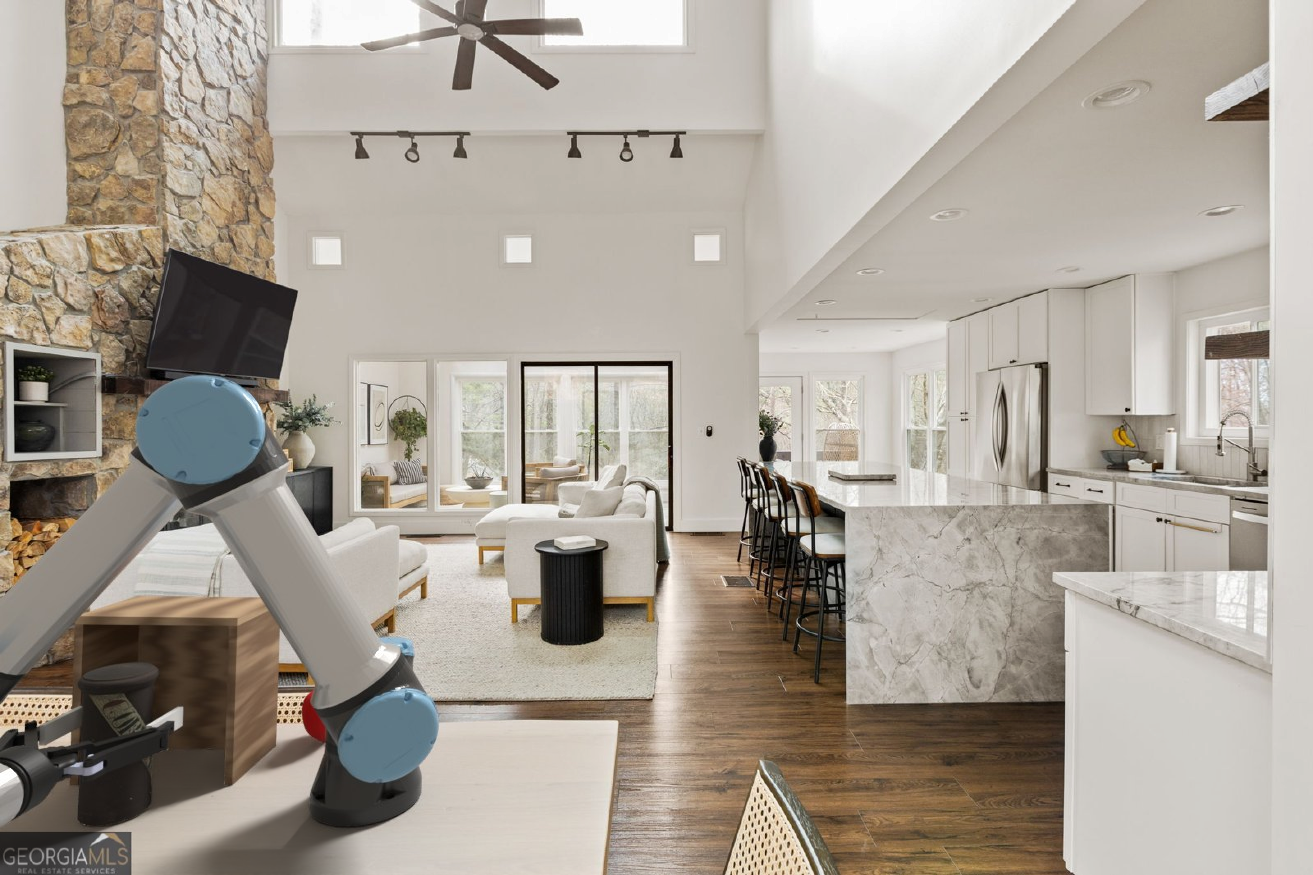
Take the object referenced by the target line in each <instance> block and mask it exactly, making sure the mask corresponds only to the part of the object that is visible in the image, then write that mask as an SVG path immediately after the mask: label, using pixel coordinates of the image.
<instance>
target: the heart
mask: <svg viewBox="0 0 1313 875" xmlns="http://www.w3.org/2000/svg"><path fill="white" fill-rule="evenodd" d="M313 691H314V689H313V690H311V691H310V692H309V693H308V694H307V695H306V696H305V697H304V699H303V702H302V704H301V705H302V706H301V718H302V724H303V727H304V730H305V732H306V733H307V734H308V736H310V737H311V738H313V739H314V740H317V741H320V742H325V733H326V727H325V726H324V724H323V722H322V721H321V719H320V718H319V716H318V715H317V713H316V711H315V710H314V708H313V707H312V705H311V702H310V700H311V697H312V694H313Z"/></svg>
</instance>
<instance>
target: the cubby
mask: <svg viewBox="0 0 1313 875" xmlns="http://www.w3.org/2000/svg"><path fill="white" fill-rule="evenodd" d="M280 632H281V629H280V628H279V626H278V624H277V623H276V621H275V620H274V618H273V617H272V615H271V613H270V612H269V610H268V609H267V607H266V606H265V604H264V602H263V601H262V599H261V598H260V596H259V597H256V596H253V597H251V596H249V597H247V596H245V597H244V596H182V595H181V596H176V595H175V596H174V595H173V596H172V595H170V596H169V595H168V596H167V595H165V596H164V595H136V596H133V597H130V598H127V599H123V600H121V601H118V602H114V603H111V604H108V605H105V606H102V607H100V608H99V607H98V608H97V609H93V610H89V611H85V612H84V613H83V614H82V615H81V616H80V617H79V618H78V619H77V620H76V621H75V622H74V633H73V634H74V638H73V665H72V691H71V692H72V697H71V710H72V709H74V708H76V707H78V706H82V701H83V693H82V692H81V690H80V689H79V688H78V685H77V683H78V680H79V679H80V678H81V677H82V676H83V675H84V674H86V673H87V672H89V671H92V670H95V669H98V668H101V667H105V666H110V665H115V664H121V663H130V662H146V663H150V664H152V665H154V666H156V667H157V668H158V670H159V675H158V677H157V678H156V680H155V682H153V721H155V720H157V719H158V718H160V717H162V716H163V715H165V714H167V713H168V712H170V711H172V710H173V709H175V708H177V707H183V726H181V727H180V728H178V729H177V730H175V731H174V732H173V733H172V734H170V735H169V742H168V749H167V750H224V753H225V754H224V772H223V776H224V778H223V780H224V781H223V785H224V786H233V785H235V783H236V782H238V781H239V780H240V779H241V778H242V777H244V775H246V774H247V773H248V772H249V771H250V770H251V769H252V768H253V767H254V766H256V765H257V764H258V763H259V762H260V761H261V760H262V759H264V758H265V756H266V755H267V754H269V752H271V751H273V749H275V747H277V731H278V728H277V727H278V701H279V700H278V699H279V698H278V696H279V694H278V693H279V671H280V670H279V667H280V665H279V664H280V636H281V635H280V634H281V633H280ZM153 721H152V722H153ZM81 729H82V726H81V727H79V728H77V729H75V730H74V731H72V732H70V745H73V744H77V743H81ZM80 751H81V750H79V751H78V763H80ZM68 779H69V783H68V784H69V786H70V787H71V786H72V787H74V786H75V787H76V786H77V787H79V775H74V776H72V777H70V778H68Z"/></svg>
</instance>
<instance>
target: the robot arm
mask: <svg viewBox="0 0 1313 875" xmlns="http://www.w3.org/2000/svg"><path fill="white" fill-rule="evenodd" d="M264 417H265V416H264V413H263V410H262V408H261V406H260V405H259V403H258V401H257V399H255V397H254V396H253V395H252V394H251V393H250V391H249V390H247V389H246V388H244V387H242V385H239V383H238V384H237V383H236V382H234V381H232V380H229V379H227V378H224V377H221V376H217V375H207V374H199V375H188V376H185V377H181V378H177V379H173V380H172V381H169V382H167V383H165V384H163V385H161V386H160V387H158V388H157V389H156V390H154V391H153V392H152V393H151V394H150V395H149V396H148V397H147V399H146V400H145V401H144V402H143V404H142V406H141V408H140V409H139V411H138V414H137V417H136V421H135V429H134V431H135V438H136V446H135V447H134V448H133V449H132V450H131V451H130V452H129V453H128V460H129V466H128V467H127V468H126V470H124V471H123V473H122V474H121V475H119V477H118V478H116V480H115V481H113V483H112V484H111V485H110V486H108V488H107V489H105V491H104V492H103V493H102V494H101V495H100V496H99V497H98V498H97V499H96V500H95V501H94V502H93V503H92V504H91V505H90V507H89V508H88V509H86V511H85V512H83V514H82V515H81V516H80V517H79V518H77V520H76V521H74V523H73V524H72V525H70V527H69V528H68V529H67V530H66V531H65V532H64V533H63V534H62V535H61V536H60V537H59V538H58V539H57V540H56V542H54V543H53V544H52V546H50V548H48V549H47V551H46V552H44V554H42V556H41V557H40V558H39V559H38V560H36V562H35V563H34V564H33V565H32V566H31V567H30V568H29V569H28V570H27V571H26V572H25V573H24V574H23V575H22V576H21V577H20V578H19V579H18V580H17V581H16V583H15V584H13V586H11V587H10V589H9V590H8V591H7V592H5V593H4V594H3V596H2V597H0V705H2V703H3V702H4V701H5V700H6V699H7V698H8V696H9V694H10V693H11V692H12V691H13V690H14V689H15V688H16V686H18V684H19V683H20V682H21V681H22V680H23V679H24V678H25V676H26V675H27V674H28V673H29V672H30V671H31V670H32V669H33V667H34V666H35V665H36V664H37V663H38V662H39V661H40V660H41V659H42V658H43V657H44V656H45V655H46V654H47V652H48V651H49V650H51V649H52V647H54V645H55V644H56V643H57V642H58V641H59V639H61V638H62V636H63V635H65V633H66V632H67V631H68V630H69V629H70V628H71V627H72V625H74V624H75V621H76V620H77V619H78V618H79V617H80V616H81V615H82V614H83V613H86V612H87V611H88V608H90V606H92V604H93V603H94V602H95V601H96V600H97V599H98V598H99V597H100V595H102V593H104V592H105V590H106V589H107V588H108V587H109V586H110V585H111V584H112V583H113V582H114V581H115V580H116V579H117V577H118V576H119V575H121V573H122V572H123V571H124V570H125V569H126V568H127V566H128V565H129V564H131V563H132V561H133V560H134V559H135V558H136V557H137V556H138V555H139V554H140V553H141V551H143V549H144V548H146V546H147V545H148V544H149V543H151V541H152V540H153V539H154V538H155V537H156V536H157V535H158V534H159V532H160V531H161V530H162V529H163V528H164V527H165V526H166V525H167V524H168V523H169V521H171V520H172V519H173V518H174V517H175V515H176V514H177V513H178V512H179V511H180V510H181V509H182V508H184V509H185V511H186V512H187V513H191V514H194V515H199V516H202V517H206V518H208V519H210V521H211V523H212V524H213V525H214V527H215V529H216V530H217V532H218V533H219V535H220V537H221V538H222V539H223V541H224V542H225V544H226V546H227V547H228V548H229V550H230V552H231V554H232V556H233V557H234V558H235V560H236V562H237V563H238V565H239V567H240V568H241V569H242V572H243V573H244V575H245V576H246V578H247V579H248V580H249V583H251V585H252V587H253V588H254V590H255V592H256V593H257V595H258V596H259V597H260V598H261V599H262V601H263V602H264V604H265V606H266V607H267V609H268V610H269V612H270V613H271V615H272V617H273V618H274V620H275V621H276V623H277V624H278V626H279V628H280V632H281V633H282V634H283V636H284V637H285V639H286V640H287V642H288V644H289V645H290V646H291V648H292V649H293V651H294V653H295V654H296V656H297V658H298V659H299V660H300V662H301V664H302V665H303V666H304V669H305V670H306V671H307V673H308V676H310V678H311V679H312V681H313V683H314V688H313V690H314V691H313V690H312V691H313V694H312V697H311V700H310V702H311V705H312V707H313V708H314V710H315V711H316V713H317V715H318V716H319V718H320V719H321V721H322V722H323V724H324V726H325V727H326V733H325V741H324V754H323V755H322V758H321V761H320V764H319V767H318V769H317V773H316V775H315V778H314V779H313V780H314V781H313V782H312V785H311V789H310V792H309V793H310V794H309V814H310V815H311V816H312V818H313V819H314V820H316V821H318V822H319V823H322V824H325V825H329V826H335V827H359V826H360V827H361V826H368V825H372V824H376V823H380V822H383V821H386V820H388V819H389V820H390V819H392V818H394V817H396V816H398V815H400V814H402V813H403V812H406V811H407V810H408V809H410V808H411V807H412V806H413V805H414V804H416V803H417V802H418V800H419V799H420V797H421V795H422V791H423V790H422V788H423V787H422V786H423V784H422V783H423V775H422V770H421V767H420V765H421V764H423V762H424V761H425V760H426V758H427V757H428V755H430V753H431V751H432V750H433V748H434V745H435V743H436V741H437V737H438V736H439V730H440V728H439V727H440V722H439V721H440V719H439V714H438V709H437V705H436V703H435V701H434V700H433V699H432V698H431V697H432V696H429V694H428V693H427V691H426V690H425V688H424V687H423V685H422V683H421V682H420V680H419V678H418V677H417V674H416V673H415V671H414V658H415V656H416V654H415V652H414V643H413V642H412V640H411V639H408V638H406V637H398V636H397V637H396V636H391V637H390V636H389V637H387V636H384V637H379V636H378V634H377V632H376V631H375V630H374V627H373V626H372V624H371V623H370V621H369V620H368V617H367V616H366V615H365V613H364V611H363V610H362V607H361V606H360V605H359V602H358V601H357V599H356V598H355V595H354V594H353V592H352V591H351V589H350V588H349V586H348V584H347V582H346V581H345V579H344V578H343V576H342V574H341V572H340V571H339V569H338V568H337V565H336V564H335V563H334V562H335V561H333V559H332V558H331V556H330V553H328V551H327V549H326V547H325V546H324V544H323V543H322V540H321V539H320V537H319V535H318V534H317V532H316V530H315V529H314V527H313V525H312V524H311V521H309V519H308V517H307V516H306V514H305V512H304V511H303V509H302V507H301V506H300V504H299V502H298V501H297V499H296V498H295V495H294V494H293V492H292V490H291V489H290V487H289V485H288V484H287V481H286V477H287V474H288V472H289V469H290V466H291V461H290V460H289V458H288V456H287V455H286V452H285V451H284V449H283V448H282V446H281V444H280V442H279V441H278V439H277V438H276V436H275V434H274V433H273V431H272V429H271V427H270V426H269V424H268V422H267V421H266V419H265V418H264ZM81 726H82V706H78V707H76V708H74V709H72V708H71V709H70V710H68V711H66V712H64V713H61V714H60V715H58V716H55V717H54V718H52V719H50V720H48V721H45V722H43V723H42V724H40V725H38V721H37V720H31V721H30V720H29V721H27V722H25V723H24V731H19V728H11V729H8V730H6V731H5V732H4V733H3V734H2V735H1V736H0V829H1V828H2V827H4V826H5V825H7V824H9V823H10V822H12V821H14V820H16V819H18V818H19V817H21V816H23V815H24V814H25V813H28V812H29V811H31V810H32V809H33V808H36V807H37V806H38V805H40V804H41V803H42V802H43V801H45V799H47V797H48V796H49V795H50V793H51V792H52V791H53V789H54V788H55V786H56V785H57V783H60V782H62V781H65V780H67V779H70V777H72V776H74V775H83V778H82V781H83V782H89V781H92V780H94V779H96V778H98V777H100V776H102V775H103V774H105V773H107V772H110V771H113V770H115V769H118V768H121V767H123V766H126V765H128V764H131V763H134V762H136V761H139V760H141V759H144V758H147V757H149V756H152V757H153V756H155V755H157V754H160V753H162V752H165V751H167V750H169V749H168V742H169V735H170V734H172V733H173V732H174V731H175V730H177V729H178V728H180V727H181V726H183V707H177V708H175V709H173V710H172V711H170V712H168V713H167V714H165V715H163V716H162V717H160V718H158V719H157V720H155V721H153V722H152V723H150V724H148V725H147V726H146V729H145V730H141V731H137V732H133V733H130V734H126V735H122V736H118V737H115V738H111V739H107V740H103V741H100V742H96V743H92V742H91V741H85V742H81V743H77V744H73V745H71V744H70V745H67V746H66V745H59V746H48V747H44V746H47V745H49V744H50V743H51V744H52V743H53V742H55V741H56V740H58V739H60V738H62V737H64V736H66V735H68V734H69V733H70V734H71V732H72V731H74V730H75V729H77V728H79V727H81ZM39 746H43V747H44V748H39ZM83 749H84V759H83V762H81V763H78V751H79V750H83Z"/></svg>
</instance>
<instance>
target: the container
mask: <svg viewBox="0 0 1313 875" xmlns="http://www.w3.org/2000/svg"><path fill="white" fill-rule="evenodd" d="M158 675H159V670H158V668H157V667H156V666H154V665H152V664H150V663H146V662H130V663H121V664H115V665H110V666H105V667H101V668H98V669H95V670H92V671H89V672H87V673H86V674H84V675H83V676H82V677H81V678H80V679H79V680H78V683H77V685H78V688H79V689H80V690H81V692H82V693H83V701H82V729H81V742H85V741H91V742H92V743H96V742H100V741H103V740H107V739H111V738H115V737H118V736H122V735H126V734H130V733H133V732H137V731H141V730H145V729H146V726H147V725H148V724H150V723H152V721H153V682H155V680H156V678H157V677H158ZM83 759H84V749H83V750H81V751H80V763H81V762H83ZM82 778H83V775H79V785H78V791H77V805H76V806H77V808H76V810H77V815H76V817H77V818H76V819H77V821H79V822H80V823H79V822H78V823H79V824H81V825H83V824H85V825H84V826H87V825H89V826H88V827H104V826H109V825H116V824H119V823H123V822H124V821H128V820H131V819H134V818H136V817H138V816H139V815H141V814H142V813H144V812H146V811H147V810H148V808H150V806H151V805H152V794H153V792H152V790H153V755H152V756H149V757H147V758H144V759H141V760H139V761H136V762H134V763H131V764H128V765H126V766H123V767H121V768H118V769H115V770H113V771H110V772H107V773H105V774H103V775H102V776H100V777H98V778H96V779H94V780H92V781H89V782H83V781H82Z"/></svg>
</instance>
